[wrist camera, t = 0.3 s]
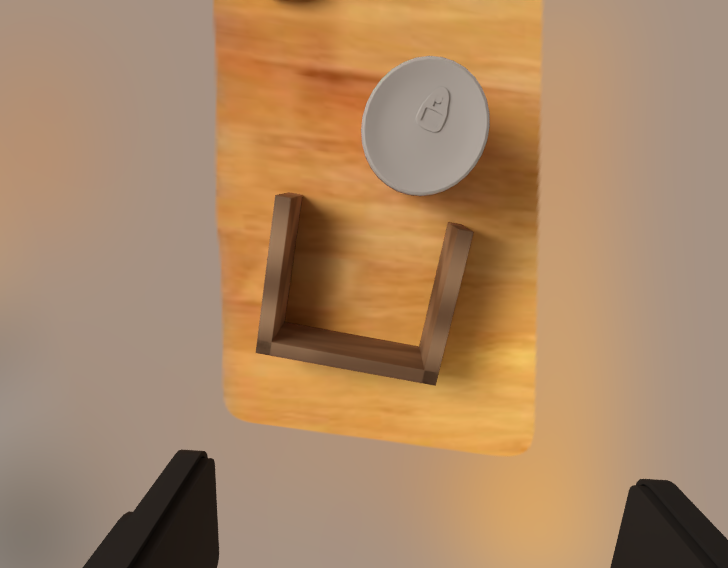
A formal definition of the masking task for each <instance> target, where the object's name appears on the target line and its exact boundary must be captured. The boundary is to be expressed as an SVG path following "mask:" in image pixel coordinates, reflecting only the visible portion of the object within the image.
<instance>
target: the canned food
mask: <svg viewBox="0 0 728 568" xmlns="http://www.w3.org/2000/svg"><path fill="white" fill-rule="evenodd" d="M488 132H489V109H488V104H487V99H486V97H485V94H484V92H483V89H482V87H481V86H480V84H479V83H478V81H477V80H476V78H475V77H474V76H473V75H472V74H471V73H470V72H469V71H468V70H467V69H466V68H465V67H463V66H461V65H460V64H458V63H456V62H455V61H452V60H449V59H446V58H443V57H435V56H426V57H418V58H414V59H411V60H409V61H406V62H403V63H402V64H400V65H398V66H397V67H395V68H393V69H392V70H391V71H390V72H389V73H388V74H386V75H385V76H384V77H383V78H382V79H381V81H380V82H379V83H378V85H377V86H376V87H375V89H374V90H373V92H372V94H371V96H370V98H369V100H368V102H367V104H366V107H365V111H364V114H363V118H362V128H361V135H362V145H363V149H364V153H365V156H366V159H367V161H368V163H369V165H370V167H371V169H372V170H373V172H374V173H375V174H376V176H377V177H378V178H379V179H380V180H381V181H382V182H384V183H385V184H386V185H387V186H389V187H391V188H392V189H394V190H396V191H398V192H401V193H405V194H408V195H416V196H425V195H433V194H436V193H439V192H442V191H445V190H447V189H449V188H450V187H452V186H454V185H456V184H457V183H458V182H460V181H461V180H462V179H463V178H465V177H466V176H467V175H468V174H469V172H470V171H471V170H472V169H473V168H474V167H475V165H476V164H477V162H478V160H479V158H480V157H481V155H482V153H483V150H484V148H485V145H486V142H487V138H488Z"/></svg>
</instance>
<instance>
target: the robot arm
mask: <svg viewBox="0 0 728 568" xmlns="http://www.w3.org/2000/svg"><path fill="white" fill-rule="evenodd" d="M218 560H219V542H218V520H217V500H216V479H215V463H214V459H212V458H208V457H207V453H206V452H205V451H193V450H179V451H178V452H177V453H176V454H175V455H174V457H173V458H172V459H171V461H170V462H169V464H168V465H167V466H166V468H165V469H164V470H163V472H162V473H161V475H160V476H159V477H158V479H157V480H156V481H155V483H154V484H153V485H152V487H151V488H150V490H149V491H148V492H147V494H146V495H145V497H144V498H143V499H142V501H141V502H140V503H139V505H138V506H137V507H136V509H135V510H134V512H128V513H126V514H124V515H123V516H122V517H121V518H120V519H119V520H118V522H117V523H116V524H115V526H114V527H113V528H112V530H111V531H110V532H109V533H108V535H107V536H106V537H105V539H104V540H103V541H102V543H101V544H100V545H99V547H98V548H97V550H96V551H95V552H94V553H93V555H92V556H91V557H90V559H89V560H88V561H87V563H86V564H85V565H84V567H83V568H217V565H218ZM611 568H728V540H727V539H726V537H724V536H723V534H722V533H721V532H720V531H719V530H718V529H717V528H716V527H715V526H714V525H713V524H712V523H711V522H710V521H709V520H708V519H707V518H706V517H705V515H704V514H703V513H702V512H701V511H700V510H699V509H698V508H697V507H696V506H695V505H694V504H693V503H692V502H691V501H690V500H689V499H688V498H687V497H686V496H685V495H684V493H683V492H682V491H681V490H680V489H679V488H678V487H677V486H676V485H675V484H673V483H672V482H670V481H668V480H652V479H640V480H639V481H638V482H637V483H636V485H634V486H632V487H630V490H629V493H628V497H627V501H626V505H625V509H624V514H623V518H622V522H621V526H620V530H619V535H618V539H617V543H616V547H615V551H614V555H613V560H612V564H611Z"/></svg>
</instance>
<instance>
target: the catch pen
mask: <svg viewBox="0 0 728 568" xmlns="http://www.w3.org/2000/svg"><path fill="white" fill-rule="evenodd" d="M301 202H302V195H300V194H294V193H284V194H279V195H275V203H274V211H273V219H272V227H271V235H270V243H269V251H268V259H267V267H266V275H265V283H264V291H263V299H262V307H261V315H260V323H259V331H258V339H257V347H256V353H259V354H265V355H270V356H276V357H281V358H287V359H292V360H298V361H303V362H309V363H314V364H320V365H325V366H331V367H336V368H342V369H347V370H353V371H358V372H364V373H369V374H375V375H380V376H386V377H391V378H397V379H402V380H408V381H413V382H419V383H424V384H430V385H435V386H436V382H437V378H438V374H439V370H440V366H441V362H442V357H443V353H444V349H445V345H446V341H447V337H448V333H449V329H450V325H451V321H452V317H453V313H454V309H455V305H456V301H457V297H458V293H459V289H460V285H461V281H462V277H463V273H464V269H465V265H466V261H467V257H468V253H469V249H470V244H471V240H472V236H473V231H471V230H469V229H468V228H466V227H464V226H463V225H461V224H455V223H450V222H448V224H447V229H446V233H445V237H444V242H443V246H442V250H441V255H440V259H439V263H438V268H437V272H436V276H435V281H434V285H433V289H432V294H431V298H430V302H429V307H428V311H427V315H426V320H425V324H424V328H423V333H422V337H421V341H420V346H419V347H418V346H412V345H407V344H402V343H396V342H391V341H385V340H380V339H374V338H369V337H363V336H358V335H352V334H347V333H341V332H336V331H330V330H325V329H320V328H314V327H309V326H303V325H298V324H292V323H287V322H285V316H286V308H287V301H288V294H289V287H290V280H291V273H292V266H293V259H294V252H295V245H296V237H297V230H298V223H299V216H300V209H301Z"/></svg>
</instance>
